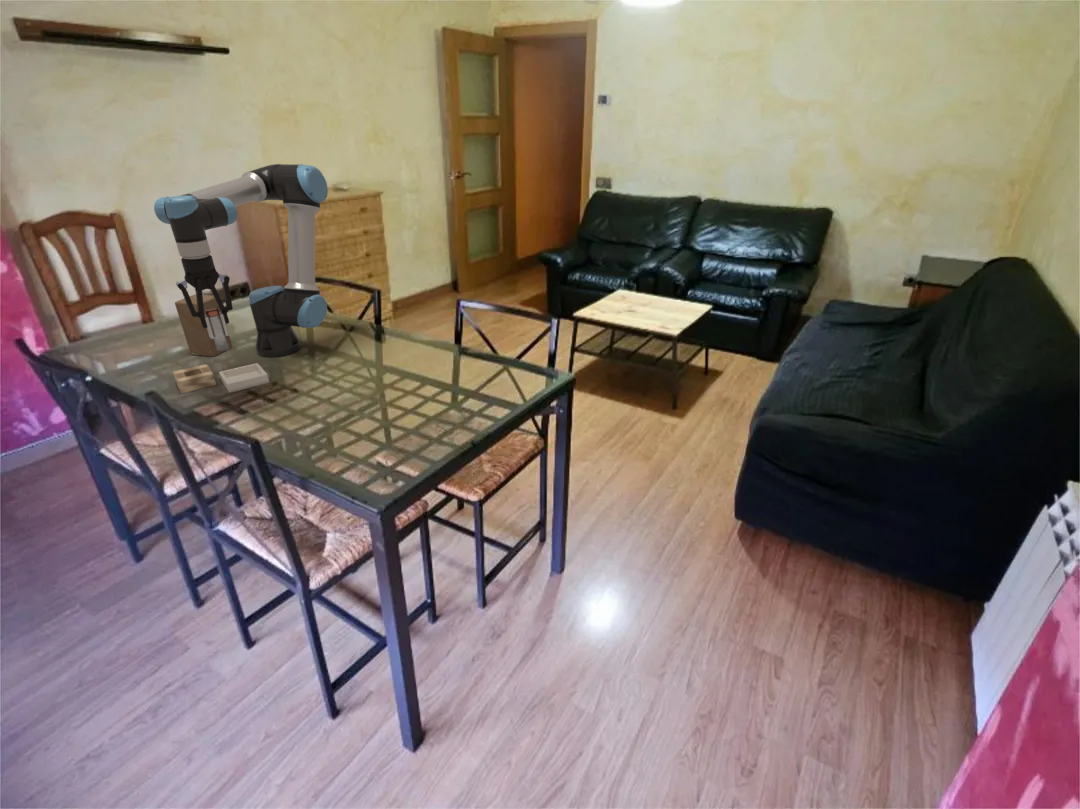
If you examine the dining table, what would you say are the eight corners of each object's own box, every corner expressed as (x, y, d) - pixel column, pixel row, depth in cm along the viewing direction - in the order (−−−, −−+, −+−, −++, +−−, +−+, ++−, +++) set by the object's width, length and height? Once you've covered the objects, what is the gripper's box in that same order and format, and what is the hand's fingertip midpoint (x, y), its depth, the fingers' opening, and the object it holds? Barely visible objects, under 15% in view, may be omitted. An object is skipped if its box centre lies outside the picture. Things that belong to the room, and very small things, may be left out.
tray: (259, 371, 192) (257, 362, 191) (269, 382, 184) (267, 374, 182) (221, 380, 186) (218, 372, 184) (229, 393, 177) (227, 384, 176)
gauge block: (210, 374, 189) (206, 364, 188) (216, 385, 182) (213, 373, 181) (176, 382, 184) (172, 371, 182) (181, 393, 177) (177, 382, 175)
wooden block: (214, 357, 203) (198, 303, 194) (190, 355, 205) (173, 302, 196) (233, 347, 212) (218, 295, 202) (209, 345, 213) (194, 293, 204)
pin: (227, 345, 170) (216, 307, 164) (230, 349, 168) (219, 310, 162) (215, 348, 168) (204, 309, 162) (218, 351, 166) (206, 312, 160)
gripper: (225, 249, 162) (245, 326, 173) (159, 257, 153) (185, 338, 164) (231, 254, 157) (251, 333, 168) (164, 263, 148) (190, 346, 159)
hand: (219, 335), depth 166 cm, fingers closed on pin, 3 cm apart
